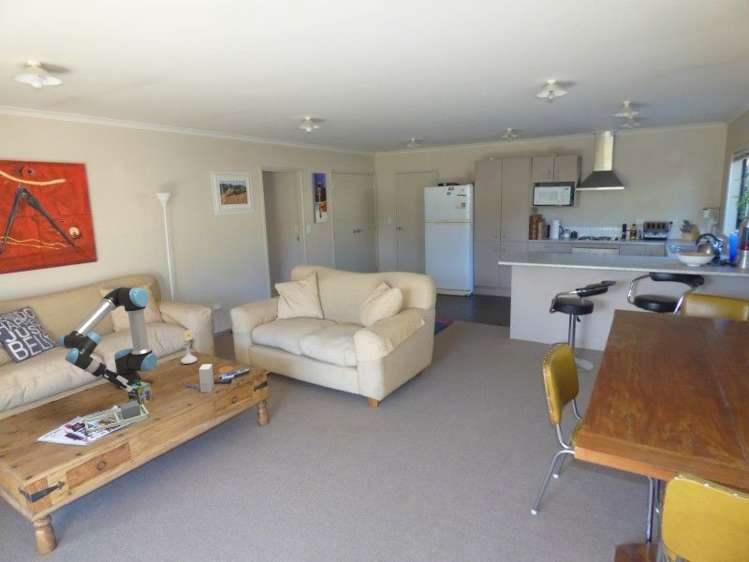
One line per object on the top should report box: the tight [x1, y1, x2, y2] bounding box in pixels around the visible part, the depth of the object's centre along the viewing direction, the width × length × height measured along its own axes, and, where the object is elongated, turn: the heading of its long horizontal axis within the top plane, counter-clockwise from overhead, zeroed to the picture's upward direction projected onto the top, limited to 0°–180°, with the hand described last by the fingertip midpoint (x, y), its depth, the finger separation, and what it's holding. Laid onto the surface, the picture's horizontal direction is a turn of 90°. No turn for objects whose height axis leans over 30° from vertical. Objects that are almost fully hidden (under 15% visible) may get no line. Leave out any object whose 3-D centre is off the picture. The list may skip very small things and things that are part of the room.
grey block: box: [120, 400, 141, 420], centre depth 251 cm, size 8×8×7 cm
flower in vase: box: [180, 329, 198, 365], centre depth 333 cm, size 13×11×25 cm
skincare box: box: [198, 363, 215, 394], centre depth 285 cm, size 8×7×16 cm
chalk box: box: [127, 380, 154, 406], centre depth 269 cm, size 9×9×15 cm
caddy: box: [83, 404, 150, 435], centre depth 248 cm, size 29×15×3 cm, turn 128°
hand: (129, 386), depth 264 cm, fingers open, 13 cm apart
